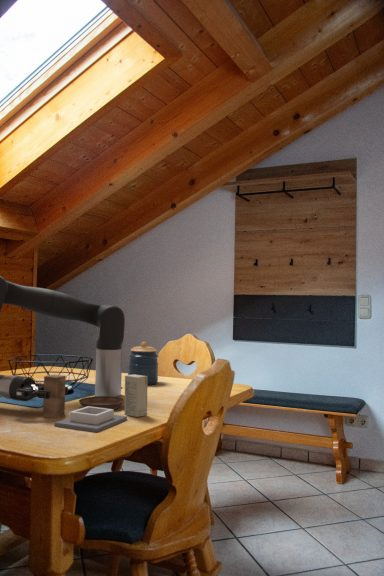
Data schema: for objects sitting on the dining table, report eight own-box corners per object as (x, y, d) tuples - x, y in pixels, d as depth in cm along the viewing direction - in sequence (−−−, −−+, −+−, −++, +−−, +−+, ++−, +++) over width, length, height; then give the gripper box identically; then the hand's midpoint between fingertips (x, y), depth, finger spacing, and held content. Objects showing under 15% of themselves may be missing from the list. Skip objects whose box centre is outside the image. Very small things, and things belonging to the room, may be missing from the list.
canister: (130, 380, 224) (131, 340, 224) (159, 381, 224) (160, 340, 224) (124, 385, 211) (126, 342, 211) (156, 386, 211) (157, 343, 211)
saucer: (75, 404, 172) (75, 396, 172) (118, 402, 177) (119, 394, 177) (82, 414, 158) (82, 405, 158) (128, 411, 164) (128, 403, 164)
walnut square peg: (52, 413, 157) (53, 374, 158) (64, 415, 156) (65, 375, 156) (42, 416, 153) (44, 376, 154) (55, 418, 152) (56, 377, 152)
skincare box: (147, 415, 158) (148, 376, 158) (137, 417, 155) (138, 377, 155) (133, 412, 162) (134, 373, 162) (123, 414, 159) (124, 374, 159)
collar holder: (87, 414, 157) (87, 403, 157) (126, 419, 152) (127, 408, 152) (54, 426, 142) (54, 413, 142) (96, 432, 137) (97, 419, 137)
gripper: (0, 379, 154) (43, 383, 148) (32, 373, 167) (73, 377, 161) (-1, 403, 154) (42, 409, 147) (31, 396, 167) (72, 401, 161)
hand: (58, 392), depth 154 cm, fingers open, 8 cm apart
